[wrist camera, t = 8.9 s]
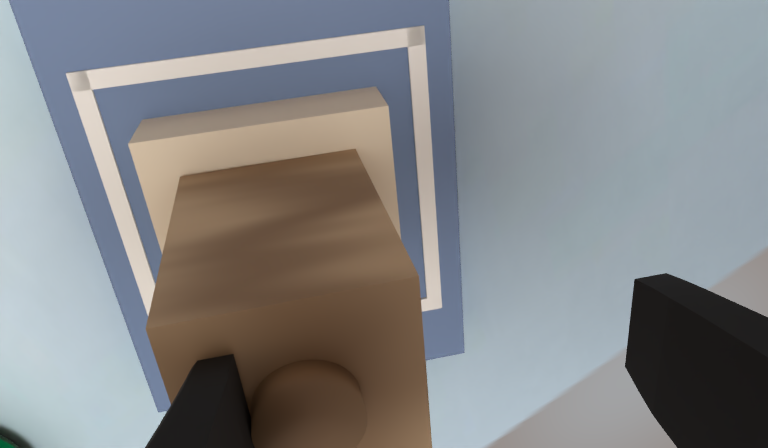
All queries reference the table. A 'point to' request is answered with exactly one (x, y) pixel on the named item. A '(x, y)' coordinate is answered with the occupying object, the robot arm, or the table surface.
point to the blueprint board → (222, 28)
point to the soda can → (7, 443)
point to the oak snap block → (296, 303)
